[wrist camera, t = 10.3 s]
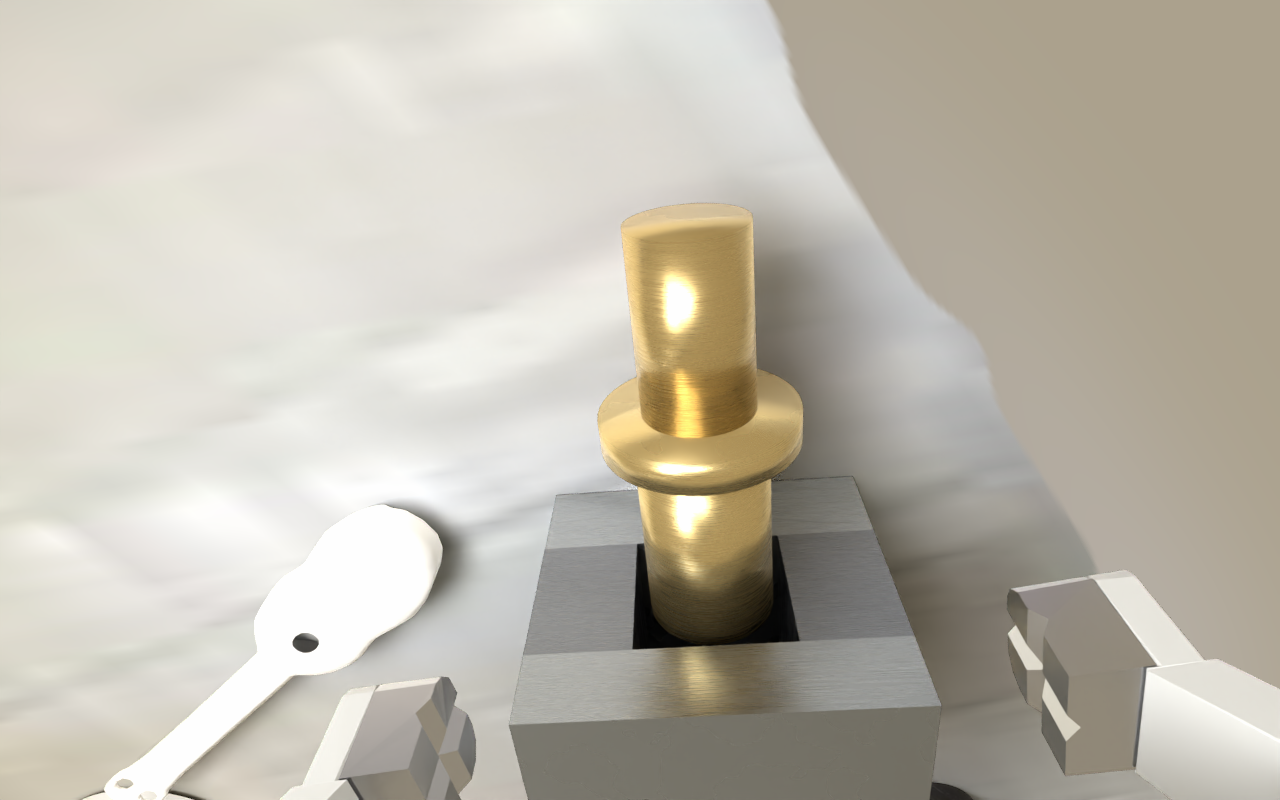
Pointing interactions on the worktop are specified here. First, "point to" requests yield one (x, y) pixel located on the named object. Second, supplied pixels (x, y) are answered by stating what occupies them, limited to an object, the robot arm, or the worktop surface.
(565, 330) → the worktop surface
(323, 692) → the worktop surface
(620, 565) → the housing
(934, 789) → the travel mug
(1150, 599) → the robot arm
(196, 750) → the spatula
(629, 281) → the brass collar peg
